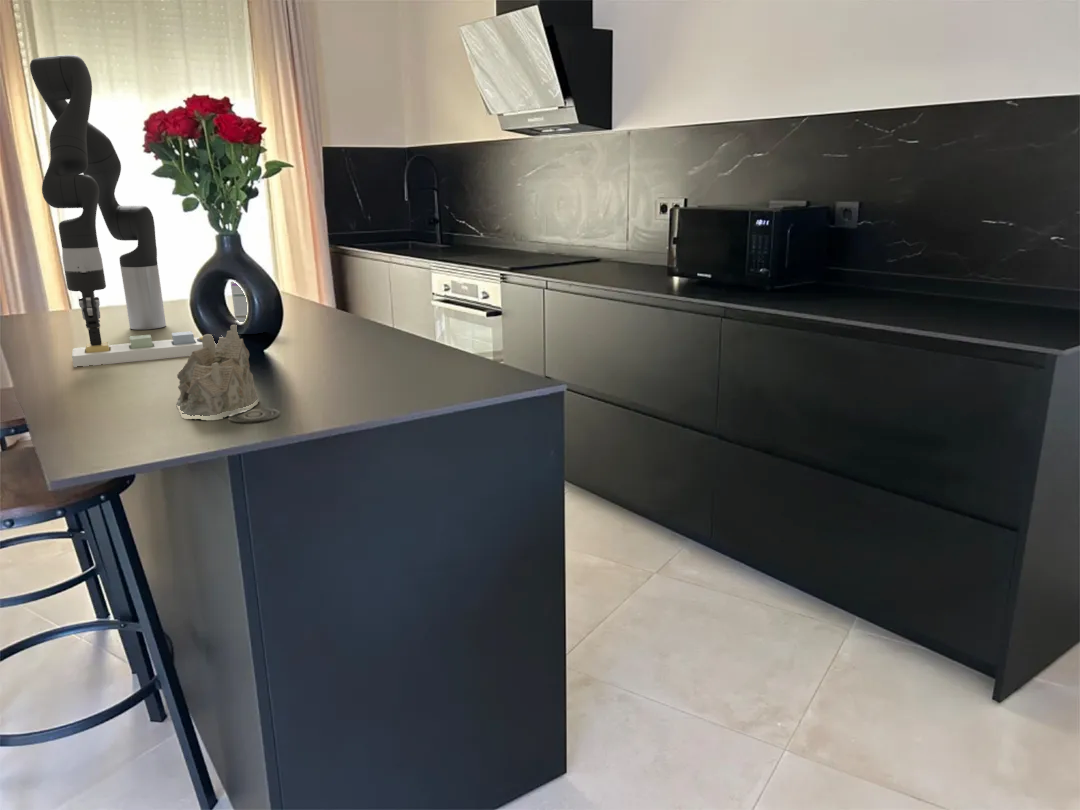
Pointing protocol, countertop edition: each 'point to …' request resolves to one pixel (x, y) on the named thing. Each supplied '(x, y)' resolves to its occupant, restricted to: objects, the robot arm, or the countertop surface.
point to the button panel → (135, 352)
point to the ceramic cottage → (217, 377)
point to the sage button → (141, 341)
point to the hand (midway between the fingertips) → (96, 344)
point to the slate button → (183, 338)
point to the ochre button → (97, 347)
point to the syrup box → (239, 302)
